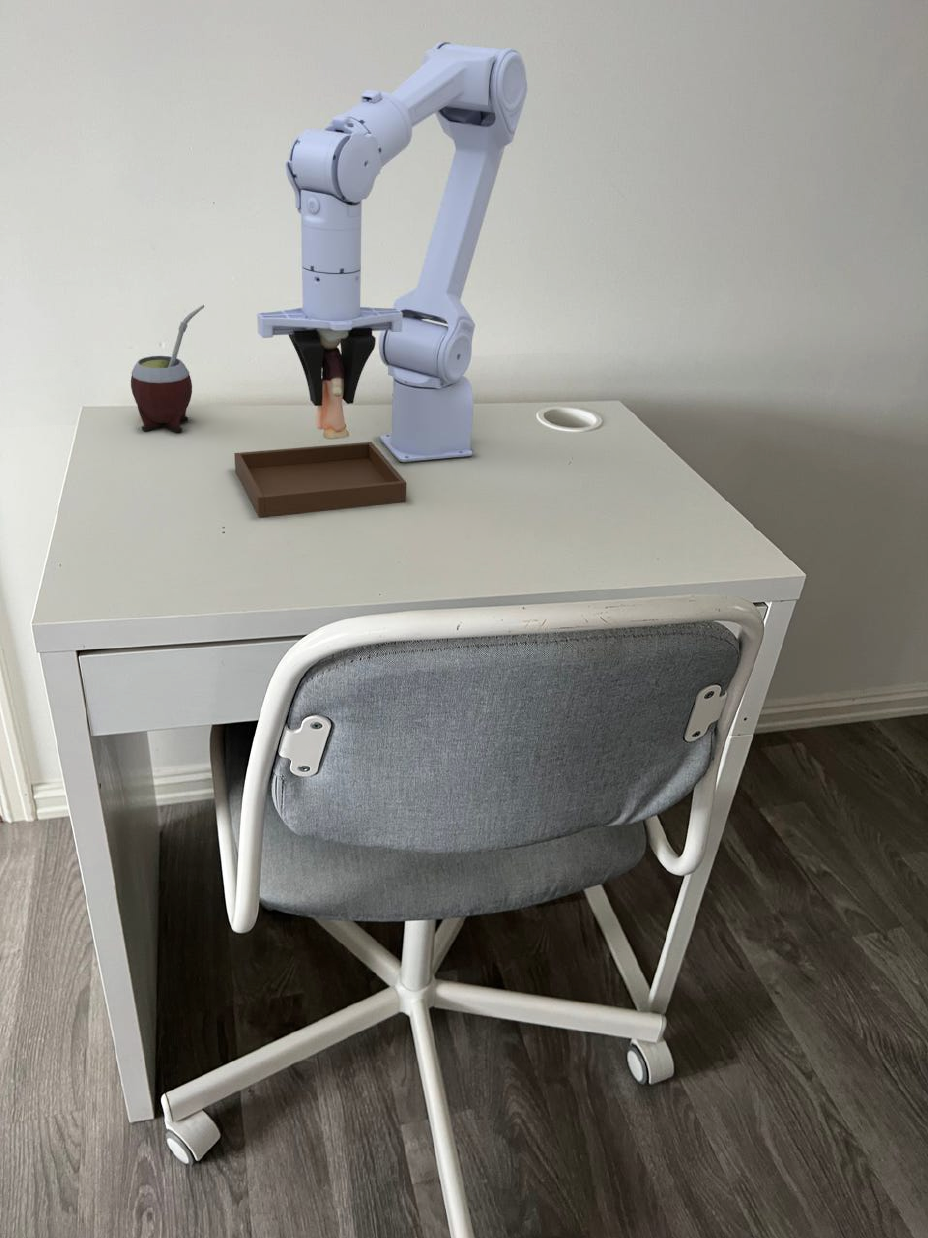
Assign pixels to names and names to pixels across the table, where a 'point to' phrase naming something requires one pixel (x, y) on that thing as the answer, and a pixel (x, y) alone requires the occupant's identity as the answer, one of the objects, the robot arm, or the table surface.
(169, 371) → the mate gourd
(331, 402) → the grandmother figurine
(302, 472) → the tray
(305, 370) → the robot arm
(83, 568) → the table surface
